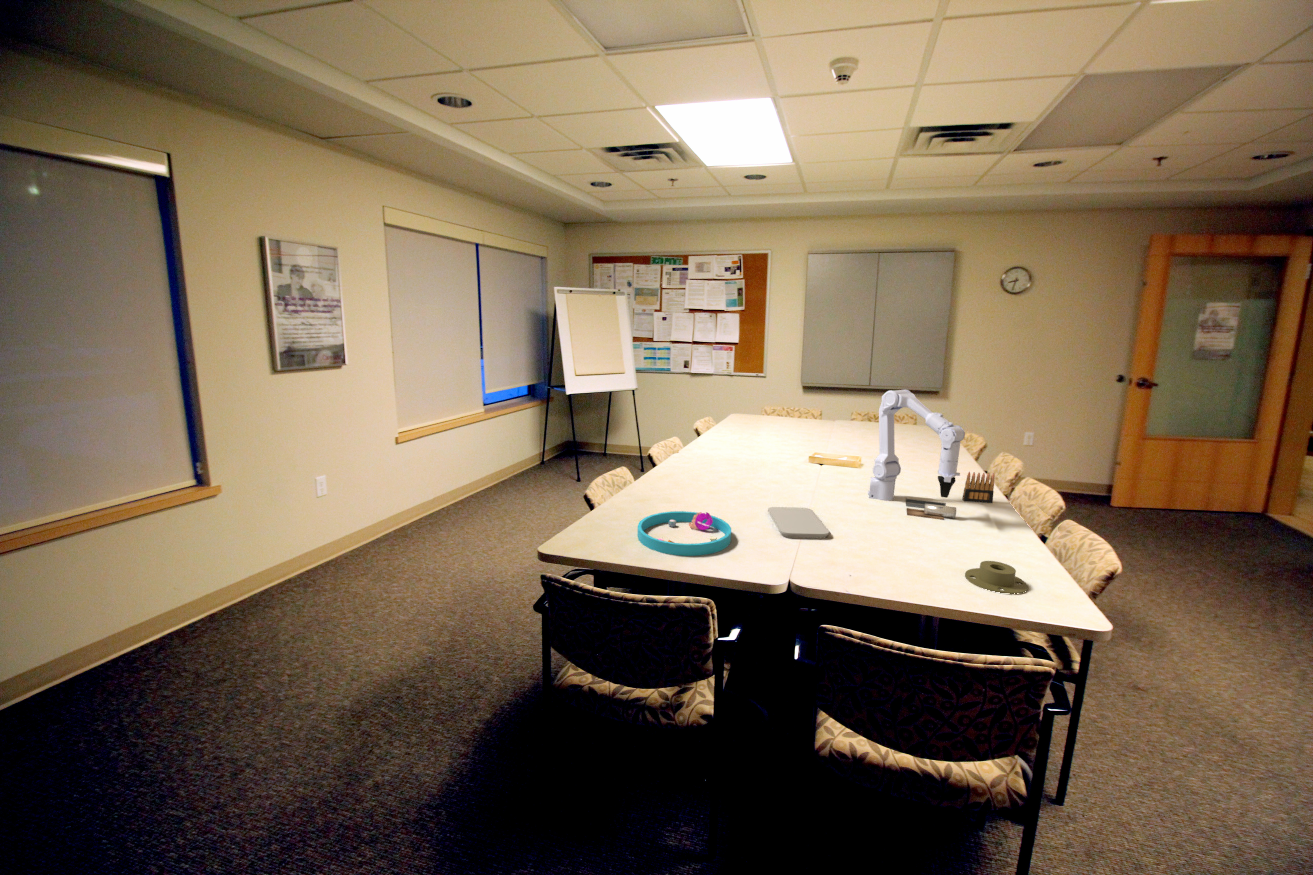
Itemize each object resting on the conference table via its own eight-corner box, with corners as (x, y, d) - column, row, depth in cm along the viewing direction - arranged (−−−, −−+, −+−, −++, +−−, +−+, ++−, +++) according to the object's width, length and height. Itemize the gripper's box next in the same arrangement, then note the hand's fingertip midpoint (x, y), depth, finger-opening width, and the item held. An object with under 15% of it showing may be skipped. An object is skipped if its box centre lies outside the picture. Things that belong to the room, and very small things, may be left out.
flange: (961, 552, 167) (973, 574, 153) (1020, 560, 162) (1038, 583, 148) (959, 568, 168) (971, 590, 153) (1017, 575, 163) (1035, 599, 149)
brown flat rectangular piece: (906, 517, 208) (907, 513, 208) (906, 511, 215) (906, 507, 214) (943, 522, 204) (944, 518, 204) (941, 516, 210) (942, 512, 210)
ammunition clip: (990, 501, 229) (995, 472, 227) (992, 503, 228) (997, 474, 225) (962, 499, 231) (966, 470, 229) (963, 501, 229) (967, 472, 227)
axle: (924, 515, 207) (925, 504, 207) (923, 513, 211) (925, 502, 211) (955, 519, 204) (956, 508, 203) (954, 517, 207) (955, 506, 207)
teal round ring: (746, 535, 189) (747, 518, 188) (701, 566, 165) (701, 546, 164) (670, 515, 206) (670, 500, 204) (618, 541, 181) (618, 523, 180)
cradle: (905, 508, 218) (906, 503, 218) (905, 503, 225) (905, 497, 224) (946, 513, 213) (947, 508, 213) (944, 508, 220) (945, 502, 219)
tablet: (810, 513, 211) (810, 507, 211) (831, 540, 186) (831, 534, 185) (765, 512, 211) (766, 506, 211) (781, 539, 186) (781, 532, 185)
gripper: (962, 465, 195) (957, 504, 197) (960, 457, 208) (955, 493, 210) (939, 463, 198) (935, 501, 200) (938, 454, 210) (934, 490, 213)
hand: (944, 496), depth 206 cm, fingers closed
